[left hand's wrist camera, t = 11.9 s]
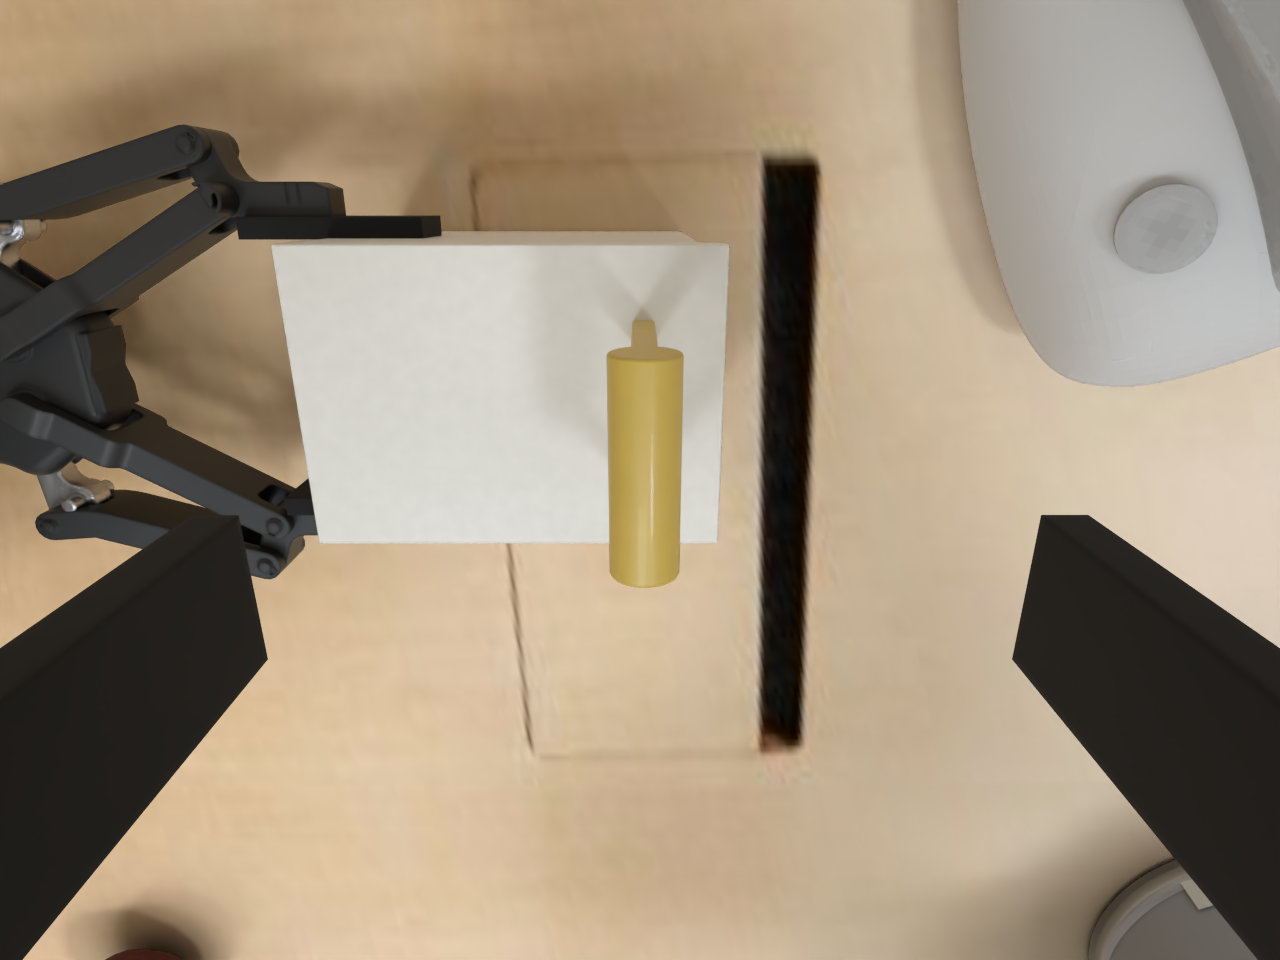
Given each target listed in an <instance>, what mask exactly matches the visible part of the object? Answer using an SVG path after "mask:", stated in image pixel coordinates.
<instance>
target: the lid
mask: <svg viewBox="0 0 1280 960" xmlns="http://www.w3.org/2000/svg"><path fill="white" fill-rule="evenodd" d="M271 249H272V255H273V261H274V268H275V274H276V280H277V286H278V292H279V298H280V305H281V311H282V317H283V323H284V329H285V335H286V341H287V348H288V354H289V360H290V366H291V372H292V378H293V385H294V391H295V397H296V403H297V409H298V415H299V422H300V428H301V434H302V440H303V446H304V452H305V458H306V465H307V471H308V477H309V483H310V489H311V495H312V502H313V508H314V514H315V520H316V526H317V532H318V538H319V543H609V561H610V574H611V576H612V577H613V578H614V579H615V580H616V581H618V582H619V583H622V584H624V585H627V586H632V587H639V588H650V587H658V586H662V585H665V584H668V583H670V582H672V581H673V580H674V579H675V578H676V577H677V576H678V574H679V564H680V543H717V542H718V527H719V502H720V477H721V452H722V426H723V401H724V376H725V351H726V326H727V301H728V275H729V250H730V247H729V245H728V244H725V243H280V244H273V245H271Z"/></svg>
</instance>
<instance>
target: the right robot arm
mask: <svg viewBox="0 0 1280 960" xmlns="http://www.w3.org/2000/svg"><path fill="white" fill-rule="evenodd" d="M238 156H239V148H238V144H237V143H236V141H235V139H234V138H233V137H232V136H231V135H229V134H228V133H225V132H222V131H217V130H211V129H206V128H200V127H194V126H189V125H177V126H174V127H171V128H168V129H165V130H162V131H159V132H156V133H153V134H150V135H147V136H144V137H141V138H138V139H135V140H132V141H129V142H126V143H123V144H120V145H117V146H114V147H111V148H108V149H105V150H102V151H99V152H96V153H93V154H90V155H87V156H84V157H81V158H78V159H76V160H73V161H70V162H67V163H64V164H61V165H58V166H55V167H52V168H49V169H46V170H43V171H40V172H37V173H34V174H31V175H28V176H25V177H22V178H19V179H16V180H13V181H10V182H7V183H0V463H1V464H7V465H10V466H13V467H16V468H18V469H20V470H22V471H24V472H27V473H30V474H34V475H37V477H38V480H39V483H40V485H41V488H42V491H43V493H44V496H45V499H46V501H47V504H48V507H49V510H48V511H46V512H44V513H42V514H40V515H39V516H38V517H37V519H36V522H35V523H36V528H37V530H38V531H39V533H40V534H41V535H43V536H44V537H46V538H48V539H51V540H64V539H79V538H94V537H96V538H100V539H104V540H108V541H112V542H116V543H120V544H124V545H129V546H133V547H137V548H141V549H144V548H145V547H147V546H148V545H150V544H151V543H152V542H154V541H155V540H157V539H158V538H160V537H161V536H163V535H164V534H165V533H167V532H168V531H170V530H171V529H173V528H174V527H175V526H177V525H178V524H180V523H181V522H183V521H184V520H186V519H187V518H188V517H190V516H191V515H239V519H240V524H241V529H242V534H243V539H244V544H245V549H246V554H247V559H248V564H249V569H250V574H251V576H256V577H260V578H264V579H272V578H275V577H276V576H278V575H279V574H280V573H281V572H282V571H283V570H284V569H285V568H286V567H287V566H288V565H289V564H290V563H291V562H292V561H293V560H294V559H295V557H296V556H297V555H298V554H299V553H300V552H301V551H302V550H303V549H304V547H305V540H304V538H303V536H304V535H318V532H317V526H316V520H315V514H314V508H313V502H312V495H311V489H310V483H309V478H308V479H307V480H306V481H305V482H303V483H302V484H301V485H300V486H299V487H297V488H293V487H291V486H289V485H287V484H285V483H283V482H281V481H279V480H277V479H275V478H273V477H271V476H269V475H267V474H265V473H263V472H261V471H259V470H257V469H255V468H253V467H251V466H248V465H246V464H244V463H242V462H240V461H238V460H236V459H234V458H232V457H230V456H228V455H226V454H224V453H222V452H220V451H218V450H216V449H214V448H212V447H210V446H208V445H206V444H203V443H201V442H199V441H197V440H195V439H193V438H191V437H189V436H187V435H185V434H183V433H181V432H179V431H177V430H175V429H173V428H171V427H169V426H168V425H167V422H166V420H165V418H163V417H162V416H160V415H158V414H156V413H154V412H152V411H150V410H148V409H146V408H143V407H141V406H139V405H137V404H135V402H138V401H139V398H138V394H137V390H136V386H135V382H134V380H133V378H132V376H131V374H130V372H129V370H128V369H127V367H126V364H125V352H126V343H125V339H124V335H123V331H122V327H121V325H114V324H113V322H112V321H111V319H110V318H112V317H113V316H115V315H116V314H118V313H119V312H121V311H122V310H124V309H125V308H127V307H128V306H130V305H131V304H133V303H134V302H136V301H137V300H138V299H139V298H138V296H139V295H141V294H142V293H144V292H145V291H147V290H148V289H150V288H151V287H152V286H154V285H155V284H157V283H158V282H160V281H161V280H163V279H164V278H166V277H167V276H169V275H170V274H172V273H173V272H175V271H176V270H178V269H179V268H181V267H182V266H184V265H185V264H187V263H188V262H190V261H191V260H193V259H194V258H196V257H197V256H199V255H200V254H202V253H203V252H205V251H206V250H208V249H209V248H211V247H212V246H214V245H215V244H217V243H218V242H219V241H221V240H222V239H224V238H225V237H227V236H228V235H230V234H231V233H233V232H234V231H236V230H237V231H238V236H239V239H327V238H429V237H435V236H442V232H441V221H440V216H346V211H345V203H344V195H343V189H342V188H340V187H337V186H335V185H332V184H330V183H322V182H258V181H256V180H254V179H253V178H251V177H250V176H249V175H248V174H247V173H246V171H245V170H244V168H243V167H242V165H241V163H240V161H239V159H238ZM191 178H193V179H194V180H195V182H193V183H191V184H192V185H193V186H197V187H198V188H197V189H195V190H194V191H193V192H191V193H190V194H188V195H187V196H185V197H184V198H182V199H181V200H180V201H178V202H177V203H175V204H174V205H172V206H171V207H169V208H168V209H167V210H165V211H164V212H162V213H161V214H159V215H158V216H156V217H155V218H154V219H152V220H151V221H149V222H148V223H146V224H145V225H143V226H142V227H141V228H139V229H138V230H136V231H135V232H133V233H132V234H130V235H129V236H128V237H126V238H125V239H123V240H122V241H120V242H119V243H117V244H116V245H115V246H113V247H112V248H110V249H109V250H107V251H106V252H104V253H103V254H102V255H100V256H99V257H97V258H96V259H94V260H93V261H91V262H90V263H88V264H87V265H86V266H84V267H83V268H81V269H80V270H78V271H77V272H75V273H74V274H72V275H70V276H67V277H64V278H61V279H59V280H55V279H53V278H52V277H50V276H49V275H47V274H45V273H44V272H42V271H41V270H39V269H37V268H36V267H34V266H33V265H31V264H29V263H28V262H26V261H24V260H22V259H19V251H20V248H21V246H22V245H23V244H25V243H26V242H31V241H35V240H36V239H38V238H39V237H40V235H41V233H42V232H45V231H46V229H47V223H46V221H45V220H48V219H63V218H70V217H74V216H78V215H81V214H84V213H87V212H90V211H93V210H96V209H99V208H102V207H105V206H109V205H112V204H115V203H118V202H121V201H124V200H127V199H130V198H133V197H136V196H139V195H142V194H145V193H148V192H151V191H154V190H158V189H161V188H164V187H167V186H170V185H173V184H176V183H179V182H182V181H185V180H188V179H191ZM83 458H84V459H86V460H89V461H91V462H93V463H95V464H97V465H100V466H102V467H107V468H122V469H125V470H127V471H129V472H131V473H133V474H136V475H138V476H140V477H142V478H144V479H146V480H148V481H150V482H152V483H155V484H157V485H159V486H161V487H163V488H165V489H167V490H169V491H171V492H174V493H176V494H178V495H180V496H182V497H184V498H186V499H188V500H190V501H193V502H195V503H197V504H199V505H201V506H203V507H200V506H196V505H192V504H188V503H184V502H180V501H176V500H172V499H168V498H164V497H160V496H156V495H152V494H148V493H143V492H138V491H131V490H114V485H113V483H112V482H110V481H108V480H103V481H100V480H97V479H92V478H88V477H86V476H84V475H82V474H81V473H80V472H79V471H78V469H77V467H76V465H75V464H76V463H77V462H79V461H80V460H81V459H83ZM204 507H205V508H204Z"/></svg>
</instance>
